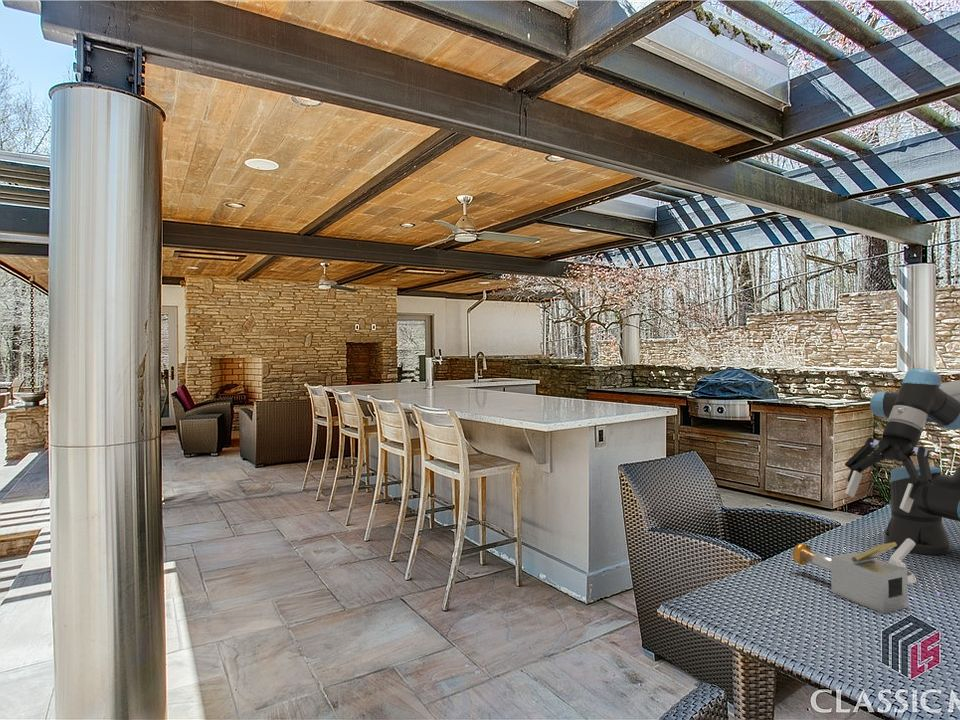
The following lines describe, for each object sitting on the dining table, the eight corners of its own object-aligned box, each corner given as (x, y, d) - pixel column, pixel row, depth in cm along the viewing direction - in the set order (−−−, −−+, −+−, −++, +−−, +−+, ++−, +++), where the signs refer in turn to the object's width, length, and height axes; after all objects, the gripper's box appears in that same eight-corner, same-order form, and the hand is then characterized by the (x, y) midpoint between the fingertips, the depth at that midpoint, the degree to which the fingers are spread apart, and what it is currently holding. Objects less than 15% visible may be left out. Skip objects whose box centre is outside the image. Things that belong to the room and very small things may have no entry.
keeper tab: (872, 559, 131) (868, 554, 132) (898, 546, 125) (894, 541, 126) (854, 563, 129) (850, 558, 129) (879, 549, 123) (875, 544, 124)
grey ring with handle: (945, 562, 137) (926, 548, 135) (912, 599, 138) (893, 586, 137) (918, 545, 144) (900, 532, 143) (887, 581, 146) (869, 568, 144)
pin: (807, 561, 146) (807, 541, 146) (853, 578, 135) (852, 557, 135) (793, 564, 145) (792, 544, 145) (837, 582, 133) (837, 560, 133)
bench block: (855, 587, 136) (854, 551, 136) (908, 607, 125) (907, 569, 125) (831, 592, 133) (831, 556, 133) (883, 613, 122) (882, 574, 122)
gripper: (848, 413, 155) (820, 484, 152) (951, 427, 131) (921, 511, 129) (864, 425, 157) (837, 494, 154) (969, 440, 134) (939, 523, 131)
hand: (875, 502), depth 142 cm, fingers open, 13 cm apart
